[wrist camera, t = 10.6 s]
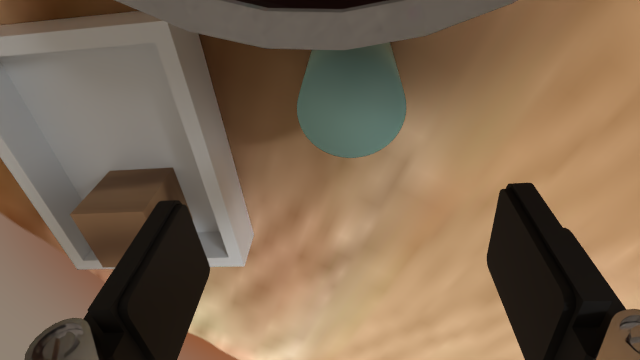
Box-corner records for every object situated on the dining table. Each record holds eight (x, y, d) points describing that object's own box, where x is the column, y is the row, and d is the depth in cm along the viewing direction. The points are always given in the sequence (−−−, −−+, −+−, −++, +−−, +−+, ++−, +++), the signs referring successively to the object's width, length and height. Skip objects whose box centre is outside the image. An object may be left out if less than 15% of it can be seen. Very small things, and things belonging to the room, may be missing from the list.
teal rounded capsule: (305, 22, 22) (289, 62, 16) (393, 14, 22) (407, 52, 16) (315, 102, 25) (304, 160, 19) (392, 97, 24) (405, 155, 19)
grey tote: (-26, 27, 24) (-78, 44, 21) (190, 5, 22) (166, 20, 19) (100, 239, 34) (77, 269, 31) (253, 234, 32) (244, 266, 30)
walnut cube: (109, 170, 29) (69, 214, 25) (173, 167, 28) (142, 211, 24) (135, 221, 32) (103, 267, 27) (193, 218, 31) (169, 266, 27)
